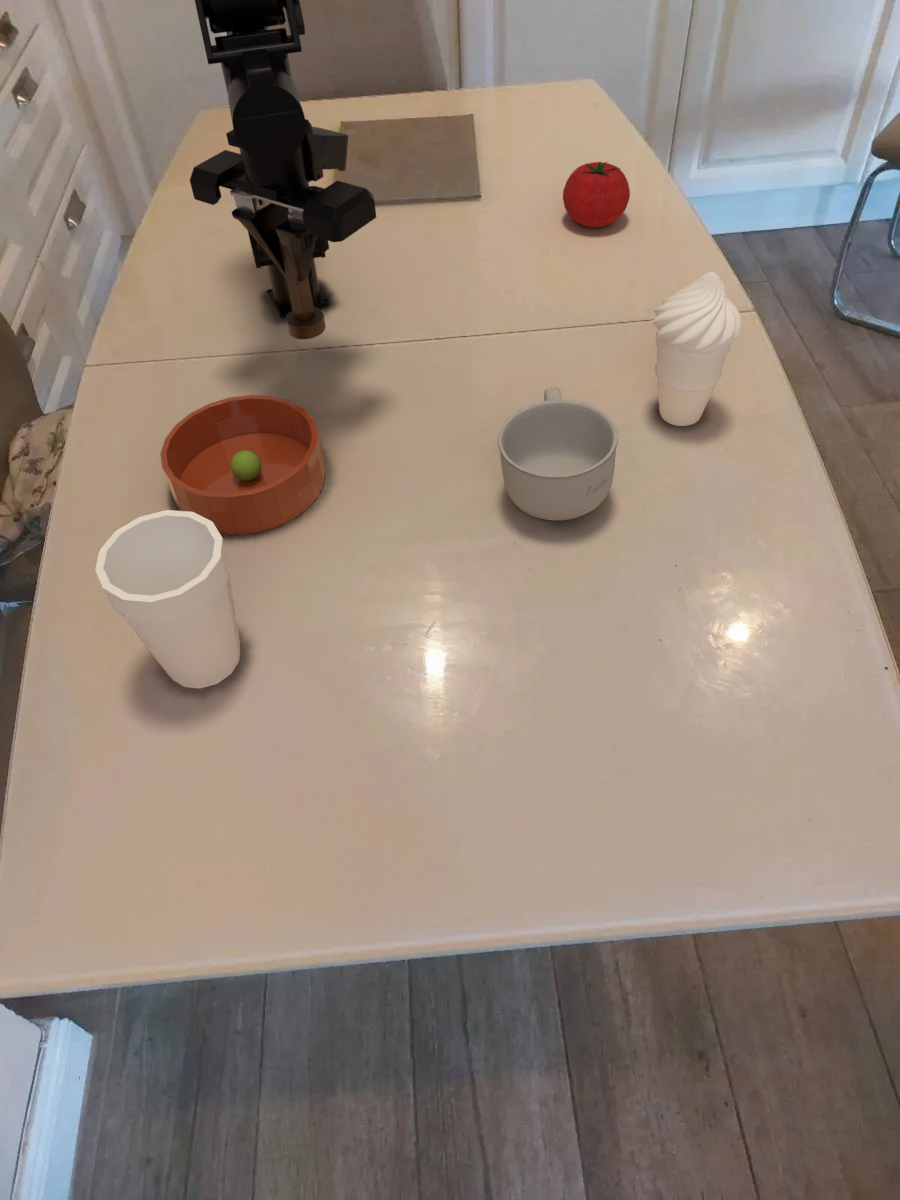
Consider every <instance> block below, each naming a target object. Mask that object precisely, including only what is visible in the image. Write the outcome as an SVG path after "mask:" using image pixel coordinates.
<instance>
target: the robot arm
mask: <svg viewBox="0 0 900 1200" xmlns="http://www.w3.org/2000/svg"><path fill="white" fill-rule="evenodd" d="M194 3H195V9H196V14H197V18H198V22H199V28H200V32H201V37H202V42H203V46H204V50H205V55H206V60H207V64H208V65H215V64H220V66H221V71H222V75H223V79H224V84H225V88H226V94H227V99H228V106H229V107H228V108H229V111H230V117H231V124H232V129H231V130H230V131H228V132H226V133H225V135H226V139H227V144H228V146H231V147H234V148H238V149H239V152H240V153H239V152H234V151H231V150H228V149H224V150H222V151H220V152H219V153H217V154H215V155H213V156H212V157H210V158H208V159H206V160H204V161H202V162H200V163H198V164H196V165H195V166H193V168H192V172H191V175H190V178H189V183H190V187H191V192H192V194H193V195H192V196H193V198H194V200H196V201H199V202H202V203H205V204H207V205H211V206H214V205H216V204H218V203H219V201H220V200H221V198H222V193H221V188H220V187H222V188H225V189H228V190H229V193H230V196H232V197H233V198H234V202H235V207H236V208H234V209H233V210H232V211H231V217H232V218H233V219H235V220H237V221H239V222H240V224H241V225H242V226H243V227H244V229H246V230H247V234H248V239H249V243H250V247H251V251H252V256H253V259H254V263H255V268H256V269H260V268H261V267H267V270H268V276H269V280H270V284H271V288H268V289H266V290H265V294H266V297H267V298H268V300H269V301H270V303H271V305H272V307H273V308H274V310H275V312H276V313H277V315H278V316H279V317H280V318H281V319H286V316H287V315H288V313H290V312H291V311H292V310H293V309H292V305H291V300H290V295H289V290H288V285H287V280H286V275H285V270H284V265H283V260H282V255H281V250H280V245H279V241H281V243H282V246H283V248H284V250H285V253H286V255H287V257H288V260H289V262H290V264H291V267H292V269H293V271H294V273H295V275H296V277H297V279H298V280H299V281H300V282H303V281H304V280H306V279H307V278H308V280H309V285H310V291H311V296H312V301H313V307H315V308H318V309H320V308H323V307H327V306H329V305H330V304H331V302H330V298H329V297H328V296H327V294H326V293H325V292H324V290H323V288H322V287H321V286H320V284H319V279H318V272H317V266H316V262H315V261H316V260H315V259H317V258H326V257H327V256H326V253H327V251H328V250H329V249H330V245H329V242H330V243H339V242H343V241H345V240H346V239H348V238H349V237H351V236H352V235H354V234H355V233H357V232H358V231H359V230H361V229H362V228H364V227H365V226H367V225H368V224H369V223H371V222H372V221H374V220H375V219H376V218H377V212H376V202H375V196H374V194H373V193H372V192H371V191H369V190H368V189H367V188H365V187H363V186H359V185H355V184H351V183H348V182H345V181H342V180H341V181H340V180H336V181H334V182H333V183H332V184H329V185H328V186H327V187H325V188H324V187H321V186H316V185H310V182H318V181H319V180H321V179H322V178H324V176H325V175H324V171H323V170H338V171H339V172H346V170H347V160H348V159H347V158H348V147H349V135H348V134H346V133H343V132H339V131H335V130H331V129H326V128H322V127H319V126H318V127H317V126H313V125H312V124H311V122H310V121H309V119H306V117H305V116H306V115H305V113H304V110H303V107H302V103H301V99H300V97H299V93H298V91H297V87H296V84H295V81H294V80H293V76H292V71H291V66H290V59H289V54H296V53H302V52H303V50H302V43H301V38H300V36H303V35H306V28H305V27H306V26H305V22H304V17H303V16H304V15H303V11H302V7H301V2H300V0H194ZM284 9H285V10H284ZM285 13H286V15H285ZM207 19H208V20H207ZM286 19H287V20H286ZM207 21H208V22H207ZM286 21H287V24H288V27H289V33H290V34H288V33H287V29H286V27H280V28H274V29H273V28H272V29H270V28H269V27H275V26H283V25H285V24H286ZM208 24H209V27H208ZM209 29H210V31H209ZM210 32H211V33H212V34H214V35H215V34H222V33H223V34H225V33H226V35H219V36H215V37H214V41H215V42H214V43H215V44H212V42H211V37H210Z"/></svg>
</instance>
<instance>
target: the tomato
mask: <svg viewBox="0 0 900 1200" xmlns="http://www.w3.org/2000/svg"><path fill="white" fill-rule="evenodd" d="M608 162H609V161H606V162H603V161H595V162H588V163H587V162H585V164H581V165H579V166H578V167H576V169H574V170H573V171H572V172H571V173H570V175H569V177H568V178H567V180H566V182H565V185H564V187H563V190H562V191H563V192H562V201H563V205H564V209H565V212H566V213H567V214H568V215H569V217H570V219H572V220H573V221H574V222H576V223H578V224H579V225H582V226H583V227H586V228H602V227H606V226H608V225H610V224H612V223H614V222H615V221H617V220H618V219H620V217H621V216H622V215H623V213H624V212H625V211H626V209H627V207H628V205H629V201H630V198H631V191H630V185H629V181H628V180H627V179H628V178H627V177H626V175H625V173H624V172H623V171H622V170H621V169H622V168H621V167H618V166H616V165H614V164H611V163H608Z"/></svg>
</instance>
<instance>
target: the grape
mask: <svg viewBox="0 0 900 1200" xmlns="http://www.w3.org/2000/svg"><path fill="white" fill-rule="evenodd" d="M231 470H232V473H233V474H234V475H235V476H236V477H237V478H238V479H240V480H243V481H250V480H253V479H255V478H256V477H257V476H258V475H259V473H260V471H261V461H260V459H259V457H258V456H257V455H256V454H255V453H253V452H251V451H240V452H238V453H236V454H235V455H234V456H233V458H232V460H231Z"/></svg>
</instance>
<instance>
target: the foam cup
mask: <svg viewBox="0 0 900 1200" xmlns="http://www.w3.org/2000/svg"><path fill="white" fill-rule="evenodd" d="M230 560H231V559H230V556H229V553H228V550H227V547H226V545H225V541H224V538H223V536H222V534H221V533H219V532H218V530H217V528H216V527H215V525H214V523H213V522H212V521H210V520H208V519H206V518H204V517H202V516H200V515H198V514H196V513H194V512H188V511H180V510H170V509H166V510H162V511H158V512H154V513H149V514H145V515H141V516H138V517H136V518H135V519H133V520H132V521H130V522H128V523H126V524H124V525H123V526H122V527H119V528H118V529H116V530H115V531H114V532H113V533H112V535H110V537H109V538H108V539H107V541H106V542H105V543H104V544H103V545H102V546H101V548H100V549H99V552H98V557H97V560H96V564H95V569H94V571H95V574H96V575H97V578H98V580H99V582H100V585H101V587H102V588H103V591H104V593H105V595H106V596H107V599H108V600H109V602H110V604H111V606H112V608H113V610H115V611H117V612H118V613H120V615H121V616H122V617H123V618H124V619H125V621H126V622H127V623H128V625H129V626H130V627H131V629H132V630H133V631H134V633H135V634H136V635H137V637H138V638H139V639H140V641H141V642H142V643H143V644H144V645H145V647H146V648H147V650H148V651H149V652H150V653H151V655H152V656H153V658H155V660H156V661H157V662H158V664H159V665H160V666H161V668H162V669H163V670H164V672H165V673H166V674H167V675H168V677H170V678H171V680H172V681H173V682H175V683H176V684H178V685H180V686H181V687H184V688H189V689H205V688H207V687H211V686H214V685H217V684H219V683H221V682H222V681H223V680H225V679H226V678H228V677H229V676H230V675H232V674H233V672H234V670H235V669H236V667H237V666H238V665H239V663H240V658H241V641H240V634H239V628H238V621H237V616H236V615H237V614H236V609H235V602H234V601H235V600H234V595H233V589H232V583H231V582H232V581H231V576H230V575H231V574H230Z"/></svg>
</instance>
